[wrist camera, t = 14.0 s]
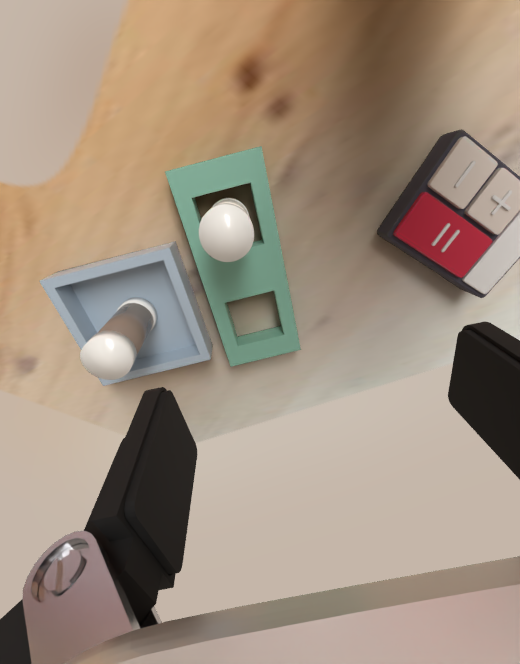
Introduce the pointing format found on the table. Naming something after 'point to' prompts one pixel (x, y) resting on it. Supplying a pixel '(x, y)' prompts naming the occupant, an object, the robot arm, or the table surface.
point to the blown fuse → (119, 340)
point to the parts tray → (127, 282)
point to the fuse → (226, 230)
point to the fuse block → (251, 270)
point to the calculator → (459, 215)
